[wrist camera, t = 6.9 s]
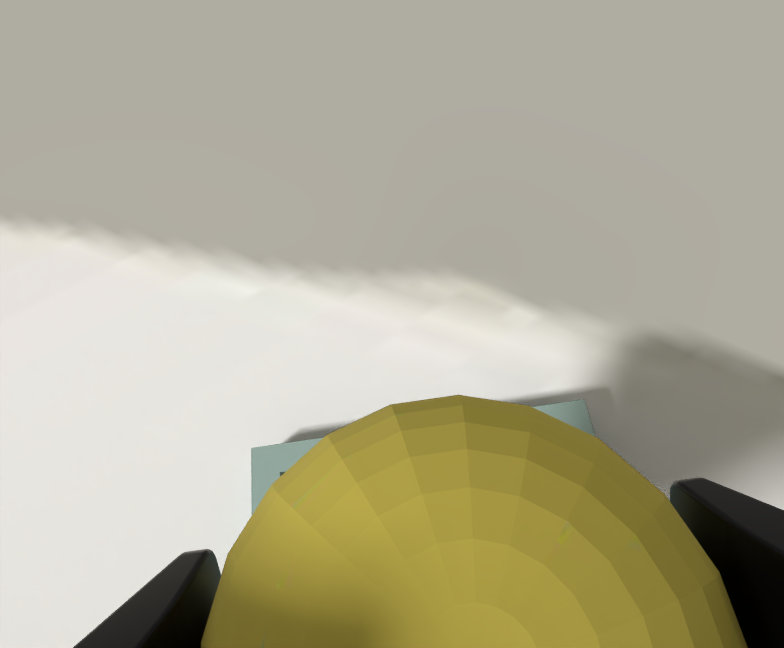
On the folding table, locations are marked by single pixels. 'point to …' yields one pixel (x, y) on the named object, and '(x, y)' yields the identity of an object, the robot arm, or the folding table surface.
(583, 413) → the tray
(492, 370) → the folding table surface
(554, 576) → the light bulb
